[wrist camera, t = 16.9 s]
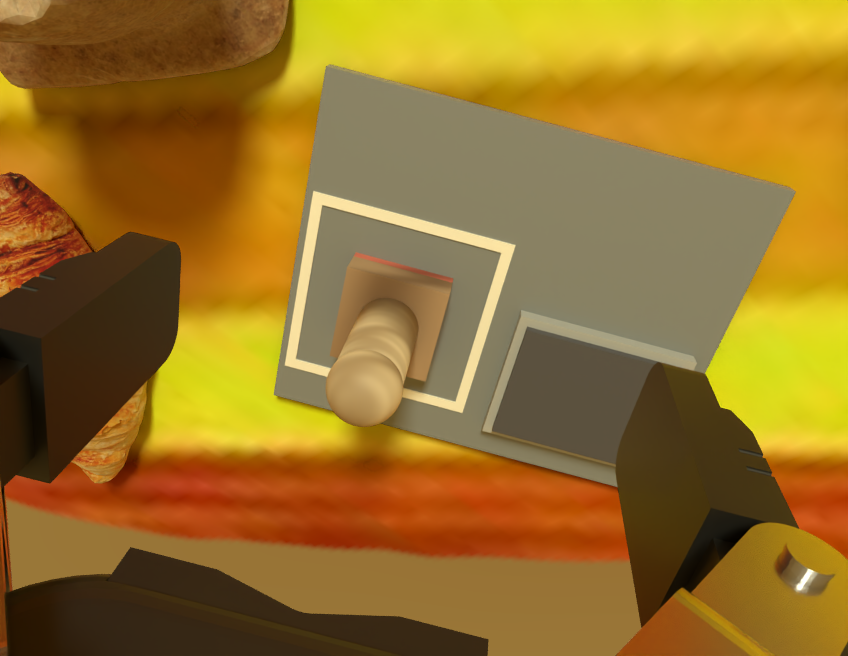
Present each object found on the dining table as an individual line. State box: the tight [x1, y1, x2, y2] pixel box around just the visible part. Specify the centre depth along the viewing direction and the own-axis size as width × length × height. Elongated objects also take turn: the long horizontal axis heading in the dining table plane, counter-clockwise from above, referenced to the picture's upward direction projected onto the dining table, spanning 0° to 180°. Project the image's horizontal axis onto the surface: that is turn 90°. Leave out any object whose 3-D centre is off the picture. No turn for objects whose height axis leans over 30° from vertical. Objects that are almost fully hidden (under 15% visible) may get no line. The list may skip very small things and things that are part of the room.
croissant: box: [0, 172, 147, 483], centre depth 42 cm, size 21×10×8 cm, turn 4°
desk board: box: [274, 65, 795, 487], centre depth 39 cm, size 24×20×2 cm
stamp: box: [326, 252, 453, 427], centre depth 36 cm, size 6×6×10 cm
